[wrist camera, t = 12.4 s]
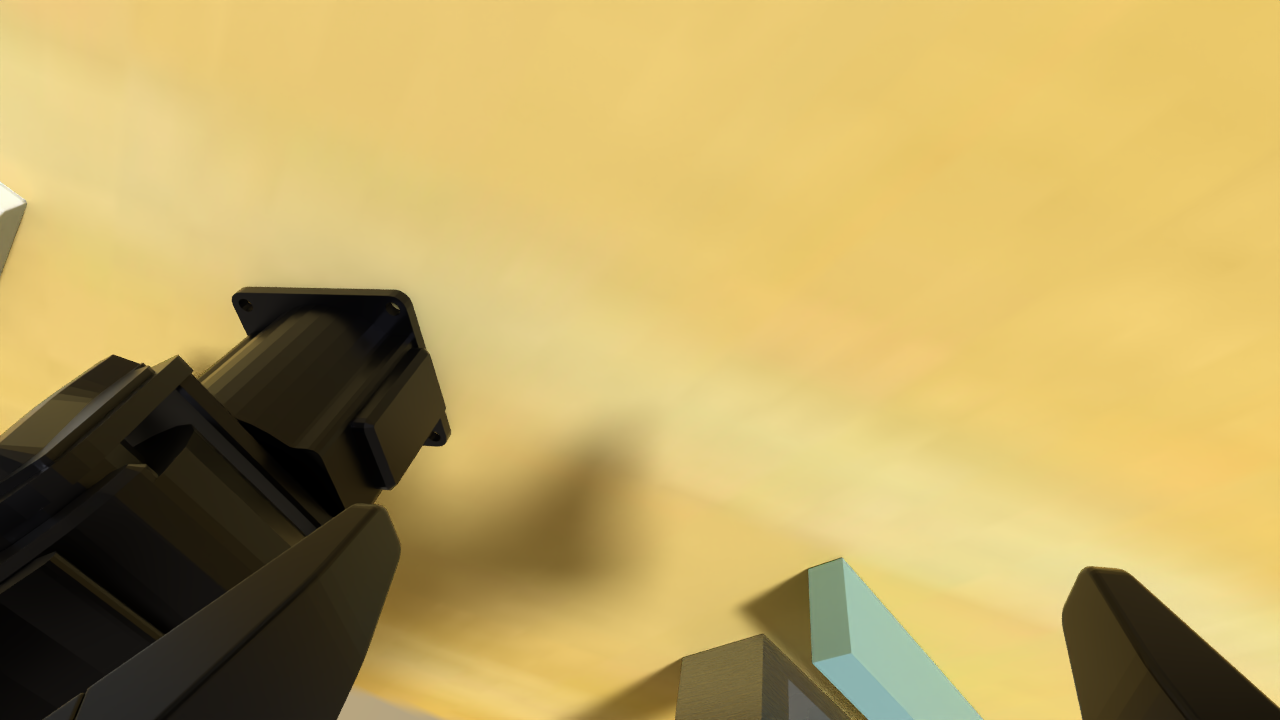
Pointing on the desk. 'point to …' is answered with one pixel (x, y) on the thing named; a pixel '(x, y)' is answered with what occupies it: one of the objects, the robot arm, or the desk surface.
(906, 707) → the teal corner wall
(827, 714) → the grey l-shaped block
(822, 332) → the desk surface
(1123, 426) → the desk surface
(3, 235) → the external hard drive
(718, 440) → the desk surface
